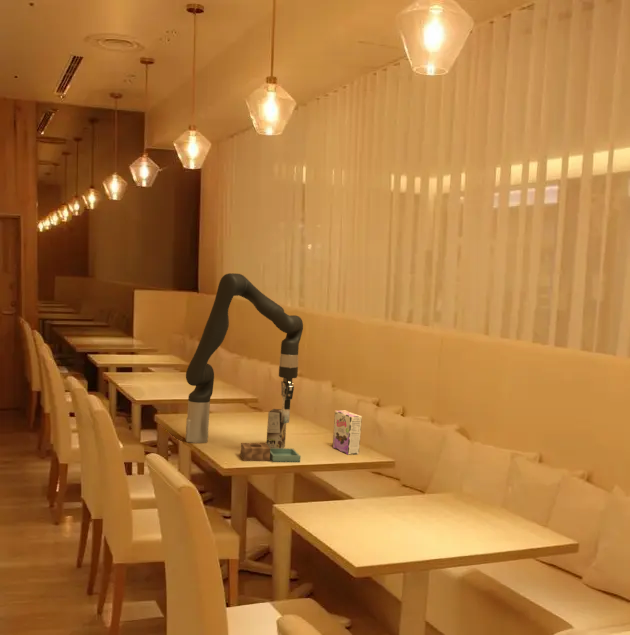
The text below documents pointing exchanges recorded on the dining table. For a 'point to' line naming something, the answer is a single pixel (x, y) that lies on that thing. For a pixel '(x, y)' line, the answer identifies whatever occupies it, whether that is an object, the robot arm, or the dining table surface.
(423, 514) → the dining table surface
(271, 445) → the coffee box
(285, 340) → the robot arm
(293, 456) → the tray
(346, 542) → the dining table surface
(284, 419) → the steel pin
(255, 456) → the pin block
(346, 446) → the candy box
